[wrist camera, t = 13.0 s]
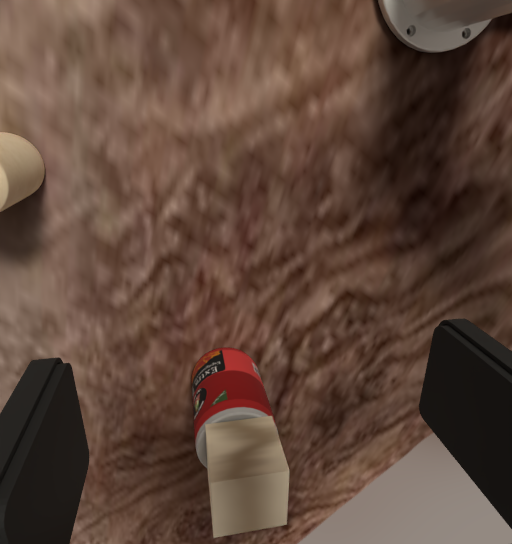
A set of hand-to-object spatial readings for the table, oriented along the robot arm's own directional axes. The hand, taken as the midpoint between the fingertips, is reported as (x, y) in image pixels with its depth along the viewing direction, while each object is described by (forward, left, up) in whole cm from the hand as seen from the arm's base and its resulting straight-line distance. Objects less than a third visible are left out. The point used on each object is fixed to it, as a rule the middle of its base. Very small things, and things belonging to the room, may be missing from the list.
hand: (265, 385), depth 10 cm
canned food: (-2, +22, -31) cm, 38 cm away
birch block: (-2, +22, -19) cm, 29 cm away
